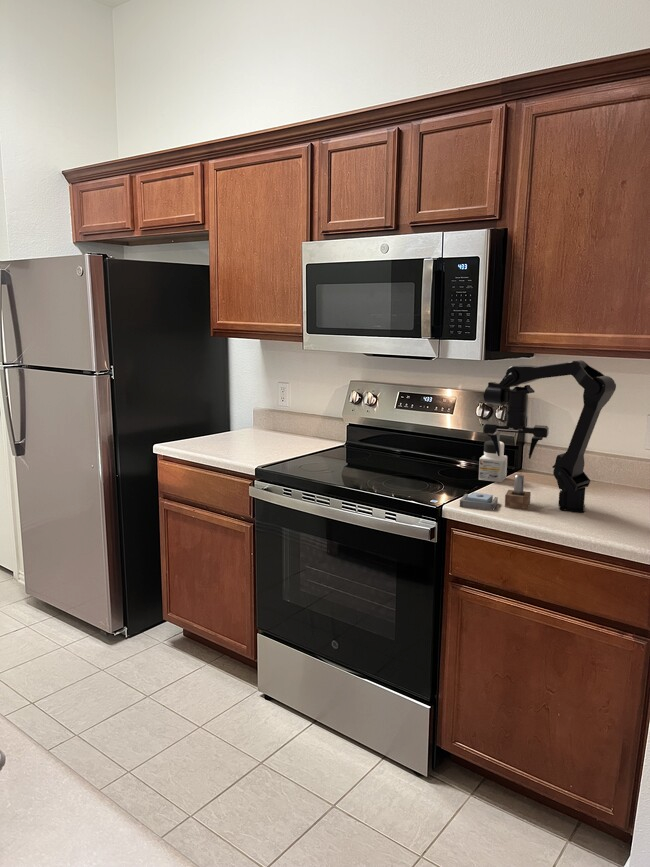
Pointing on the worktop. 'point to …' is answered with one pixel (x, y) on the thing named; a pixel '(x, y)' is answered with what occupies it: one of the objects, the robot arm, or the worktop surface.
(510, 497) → the go block
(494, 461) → the container
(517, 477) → the cylinder
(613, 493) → the worktop surface
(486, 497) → the block
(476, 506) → the tray
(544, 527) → the worktop surface
